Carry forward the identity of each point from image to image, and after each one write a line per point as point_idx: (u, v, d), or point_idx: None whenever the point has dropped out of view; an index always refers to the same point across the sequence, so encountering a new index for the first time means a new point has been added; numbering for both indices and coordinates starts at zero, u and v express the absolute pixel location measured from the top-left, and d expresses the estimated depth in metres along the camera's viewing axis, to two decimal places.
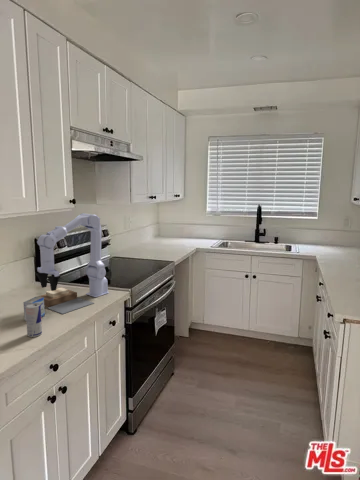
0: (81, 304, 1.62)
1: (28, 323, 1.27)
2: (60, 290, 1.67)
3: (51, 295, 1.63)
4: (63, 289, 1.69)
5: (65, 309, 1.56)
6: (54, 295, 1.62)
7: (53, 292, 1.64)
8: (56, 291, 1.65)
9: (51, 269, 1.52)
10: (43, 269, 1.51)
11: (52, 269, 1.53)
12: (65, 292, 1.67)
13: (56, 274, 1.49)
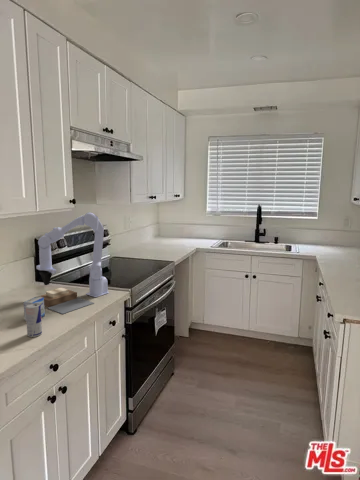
0: (81, 304, 1.62)
1: (28, 323, 1.27)
2: (60, 290, 1.67)
3: (51, 295, 1.63)
4: (63, 289, 1.69)
5: (65, 309, 1.56)
6: (54, 295, 1.62)
7: (53, 292, 1.64)
8: (56, 291, 1.65)
9: (49, 267, 1.69)
10: (41, 267, 1.68)
11: (50, 266, 1.69)
12: (65, 292, 1.67)
13: (53, 271, 1.66)
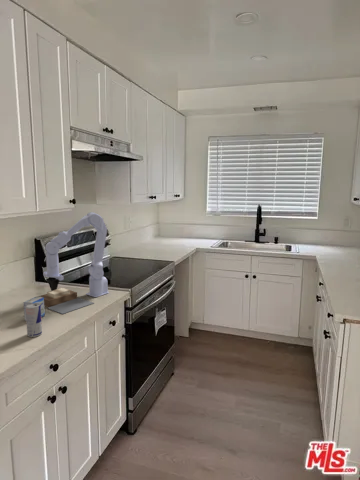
0: (81, 304, 1.62)
1: (28, 323, 1.27)
2: (61, 290, 1.67)
3: (52, 296, 1.62)
4: (64, 289, 1.68)
5: (65, 309, 1.56)
6: (55, 295, 1.62)
7: (54, 292, 1.63)
8: (58, 292, 1.64)
9: (56, 273, 1.66)
10: (49, 273, 1.65)
11: (57, 273, 1.66)
12: (66, 292, 1.67)
13: (61, 278, 1.63)
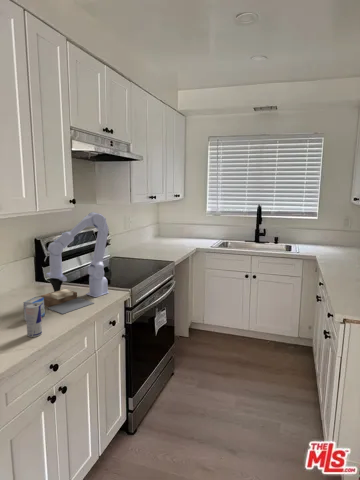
0: (81, 304, 1.62)
1: (28, 323, 1.27)
2: (64, 292, 1.65)
3: (55, 297, 1.60)
4: (67, 290, 1.67)
5: (65, 309, 1.56)
6: (58, 297, 1.60)
7: (57, 294, 1.62)
8: (61, 293, 1.63)
9: (59, 274, 1.64)
10: (52, 274, 1.63)
11: (60, 274, 1.65)
12: (69, 294, 1.65)
13: (64, 279, 1.61)
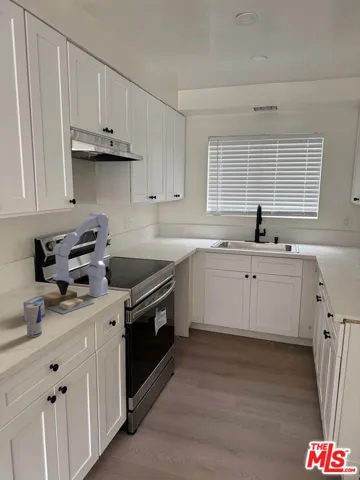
0: None
1: (28, 323, 1.27)
2: None
3: (61, 305, 1.58)
4: None
5: (65, 309, 1.56)
6: None
7: None
8: None
9: (66, 276, 1.61)
10: (58, 276, 1.60)
11: (67, 276, 1.62)
12: None
13: (71, 281, 1.58)
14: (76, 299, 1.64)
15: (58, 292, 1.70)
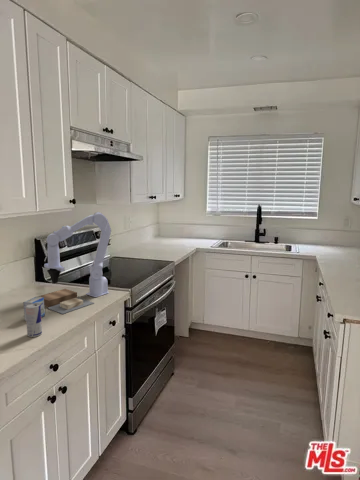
0: None
1: (28, 323, 1.27)
2: None
3: (61, 305, 1.58)
4: None
5: (65, 309, 1.56)
6: None
7: None
8: None
9: (57, 265, 1.68)
10: (50, 265, 1.67)
11: (58, 264, 1.68)
12: None
13: (62, 269, 1.65)
14: (76, 299, 1.64)
15: (58, 292, 1.70)
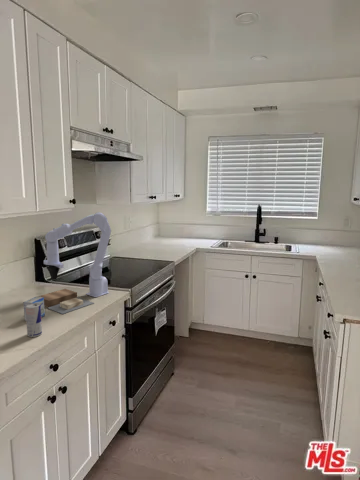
0: None
1: (28, 323, 1.27)
2: None
3: (61, 305, 1.58)
4: None
5: (65, 309, 1.56)
6: None
7: None
8: None
9: (56, 261, 1.69)
10: (49, 261, 1.68)
11: (57, 261, 1.70)
12: None
13: (61, 266, 1.67)
14: (76, 299, 1.64)
15: (58, 292, 1.70)
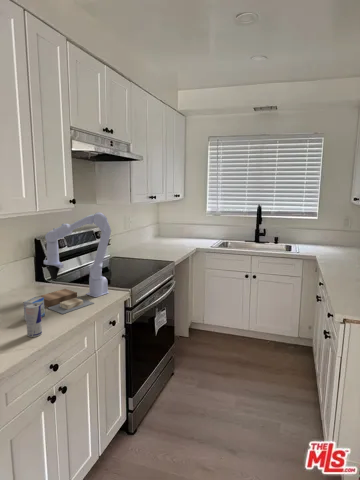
0: None
1: (28, 323, 1.27)
2: None
3: (61, 305, 1.58)
4: None
5: (65, 309, 1.56)
6: None
7: None
8: None
9: (56, 261, 1.69)
10: (49, 261, 1.68)
11: (57, 261, 1.70)
12: None
13: (61, 266, 1.67)
14: (76, 299, 1.64)
15: (58, 292, 1.70)
